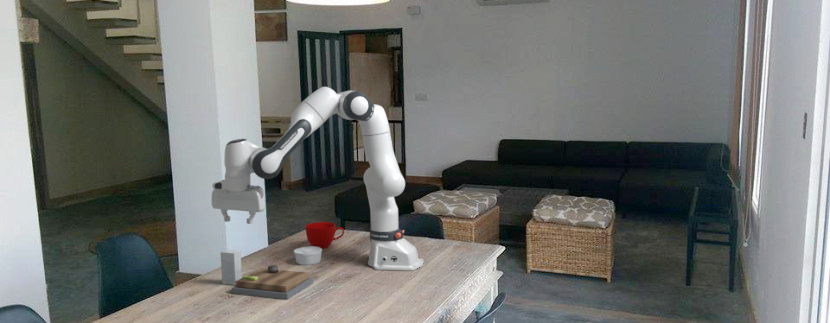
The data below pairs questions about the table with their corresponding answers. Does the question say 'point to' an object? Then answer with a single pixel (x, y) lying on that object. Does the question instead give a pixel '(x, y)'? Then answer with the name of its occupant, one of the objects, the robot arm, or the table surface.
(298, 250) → the ramekin
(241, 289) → the grey rectangular slab
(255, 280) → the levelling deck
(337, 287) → the table surface
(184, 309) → the table surface
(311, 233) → the ceramic cup
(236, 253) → the skincare box
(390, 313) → the table surface
